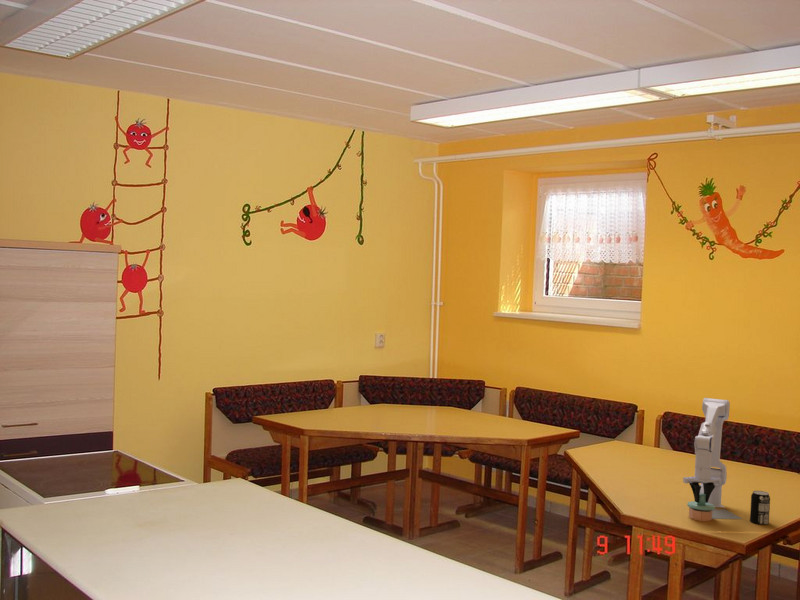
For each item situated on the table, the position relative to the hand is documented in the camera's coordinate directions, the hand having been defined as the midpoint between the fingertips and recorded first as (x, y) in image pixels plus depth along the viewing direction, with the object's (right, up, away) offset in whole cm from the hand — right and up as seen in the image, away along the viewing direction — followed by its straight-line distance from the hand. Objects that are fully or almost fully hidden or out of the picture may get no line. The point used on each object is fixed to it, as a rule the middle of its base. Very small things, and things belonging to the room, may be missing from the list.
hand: (701, 501), depth 313 cm
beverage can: (+21, -8, -3) cm, 23 cm away
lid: (0, -2, 0) cm, 2 cm away
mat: (+10, -7, +7) cm, 14 cm away
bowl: (0, -7, 0) cm, 7 cm away
